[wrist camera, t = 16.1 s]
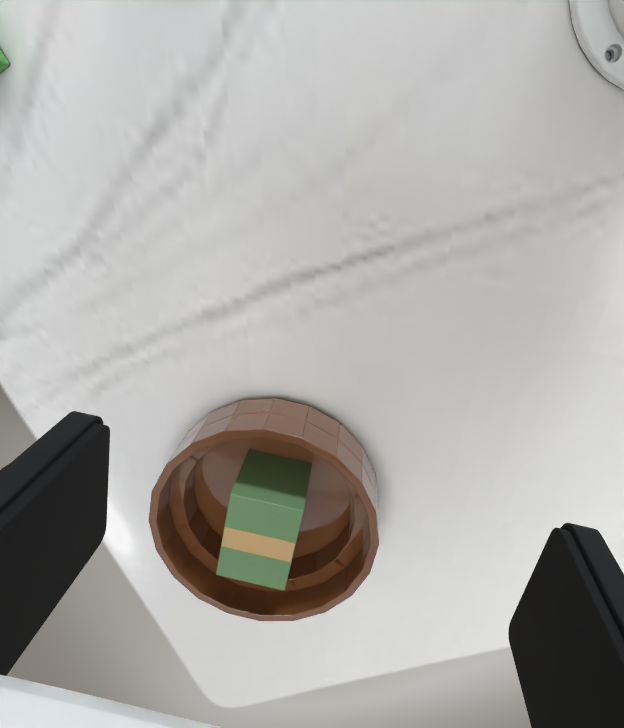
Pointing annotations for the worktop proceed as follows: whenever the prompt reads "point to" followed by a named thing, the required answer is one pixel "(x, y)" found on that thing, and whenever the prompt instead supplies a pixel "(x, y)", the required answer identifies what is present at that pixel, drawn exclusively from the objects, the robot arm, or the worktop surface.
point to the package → (264, 519)
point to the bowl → (319, 522)
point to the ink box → (3, 62)
